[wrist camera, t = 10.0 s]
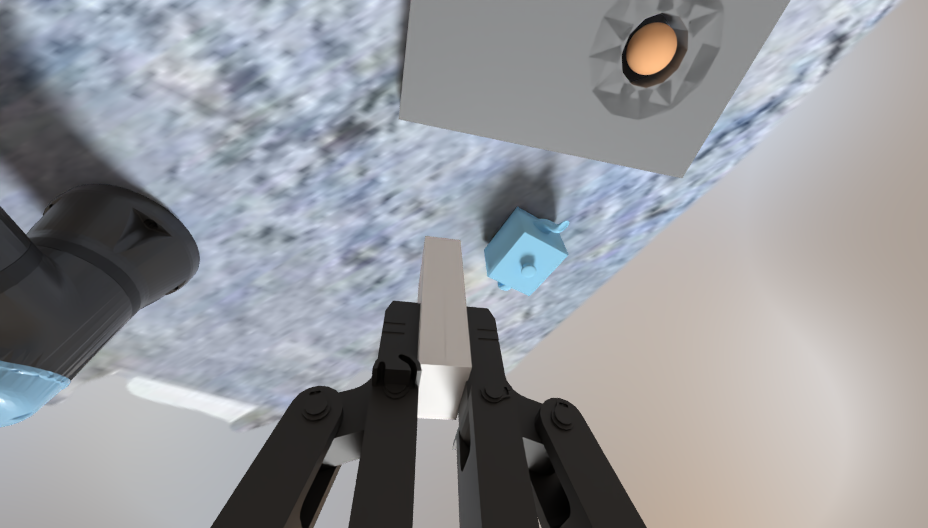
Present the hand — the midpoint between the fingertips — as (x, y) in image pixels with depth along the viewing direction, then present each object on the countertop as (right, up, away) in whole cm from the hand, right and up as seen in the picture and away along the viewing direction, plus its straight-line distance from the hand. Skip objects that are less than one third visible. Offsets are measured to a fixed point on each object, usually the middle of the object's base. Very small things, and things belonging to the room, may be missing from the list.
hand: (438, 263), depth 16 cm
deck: (+12, +21, +17) cm, 29 cm away
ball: (+18, +19, +16) cm, 30 cm away
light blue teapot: (+9, +4, +30) cm, 31 cm away
